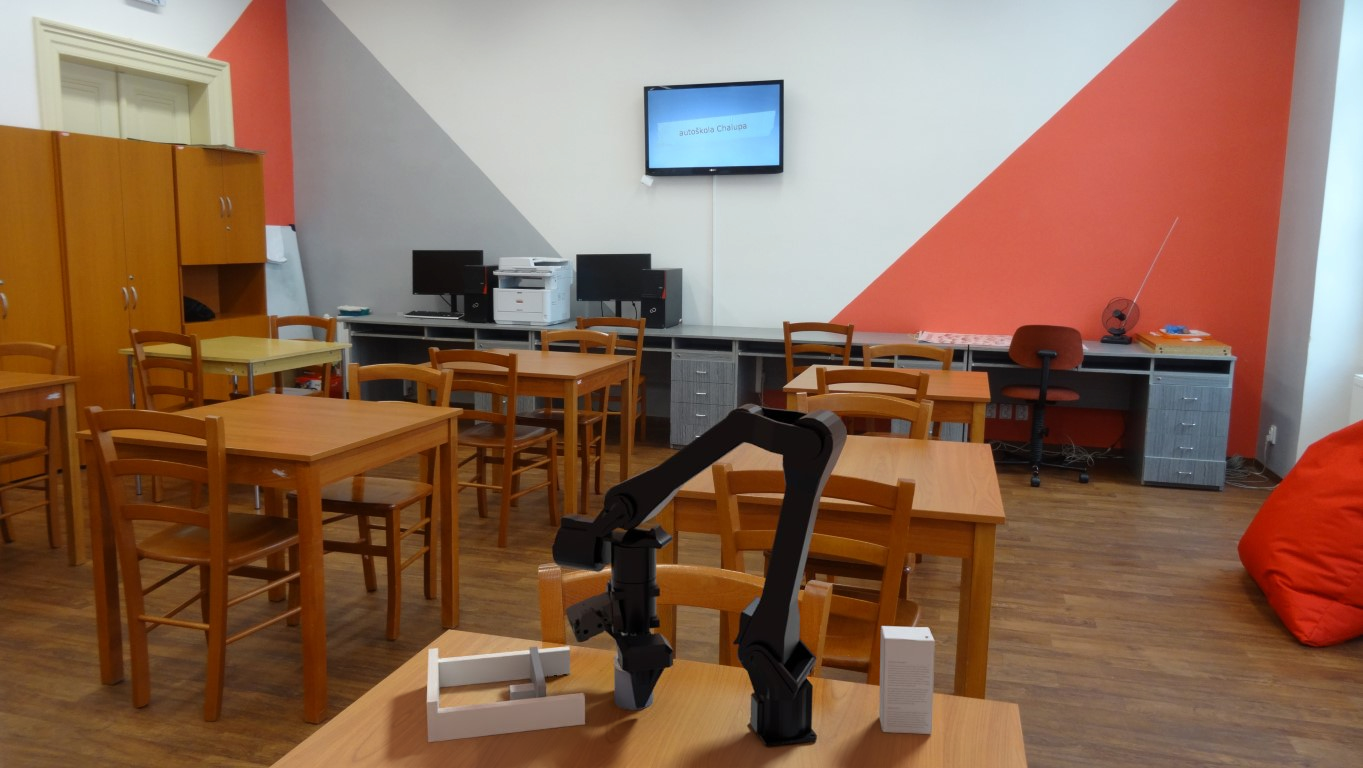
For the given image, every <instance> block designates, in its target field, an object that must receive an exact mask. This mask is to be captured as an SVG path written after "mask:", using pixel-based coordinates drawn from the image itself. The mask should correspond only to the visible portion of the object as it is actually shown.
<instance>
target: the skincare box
mask: <svg viewBox="0 0 1363 768" xmlns="http://www.w3.org/2000/svg"><path fill="white" fill-rule="evenodd" d="M935 645H936V641H935V639H934V637H933V634H932V632H931V630H930V628H929V627H927V626H926V627H921V626H920V627H919V626H918V627H916V626H891V625H881V626H880V654H879V655H880V656H879V661H880V663H879V666H880V667H879V696H878V697H879V702H878V703H879V704H878V705H879V706H878V707H879V708H878V716H879V717H878V718H879V721H880V726H881V731H882V732H883V733H896V734H898V733H899V734H917V735H918V734H920V735H921V734H922V735H931V734H932V732H933V709H934V708H933V706H934V705H933V703H934V682H935V681H934V678H935V677H934V676H935V675H934V673H935V648H936V646H935Z"/></svg>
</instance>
